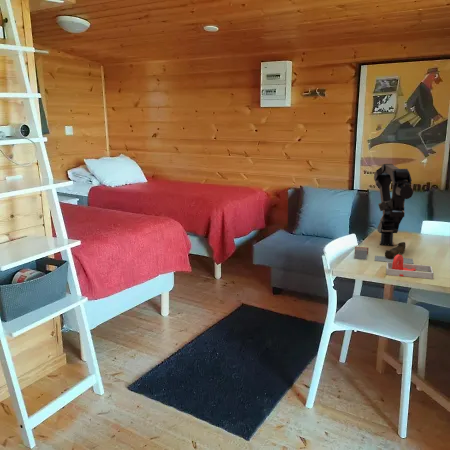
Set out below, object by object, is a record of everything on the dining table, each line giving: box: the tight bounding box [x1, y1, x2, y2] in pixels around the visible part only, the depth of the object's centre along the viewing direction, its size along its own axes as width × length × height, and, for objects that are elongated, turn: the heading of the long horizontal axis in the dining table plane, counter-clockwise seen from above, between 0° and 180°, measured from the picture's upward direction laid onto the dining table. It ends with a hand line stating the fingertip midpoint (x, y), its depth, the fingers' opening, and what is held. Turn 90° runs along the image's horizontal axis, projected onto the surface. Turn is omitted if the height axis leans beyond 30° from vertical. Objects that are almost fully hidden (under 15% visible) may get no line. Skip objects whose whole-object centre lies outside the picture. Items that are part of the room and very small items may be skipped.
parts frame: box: [385, 262, 434, 280], centre depth 179 cm, size 10×17×2 cm, turn 70°
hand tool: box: [384, 242, 406, 259], centre depth 204 cm, size 19×4×5 cm, turn 135°
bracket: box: [391, 253, 417, 277], centre depth 180 cm, size 12×4×8 cm, turn 132°
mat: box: [374, 255, 415, 265], centre depth 197 cm, size 8×16×1 cm, turn 70°
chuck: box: [354, 246, 368, 260], centre depth 201 cm, size 5×5×4 cm
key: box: [354, 246, 369, 256], centre depth 203 cm, size 7×6×3 cm
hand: (396, 228), depth 210 cm, fingers closed
